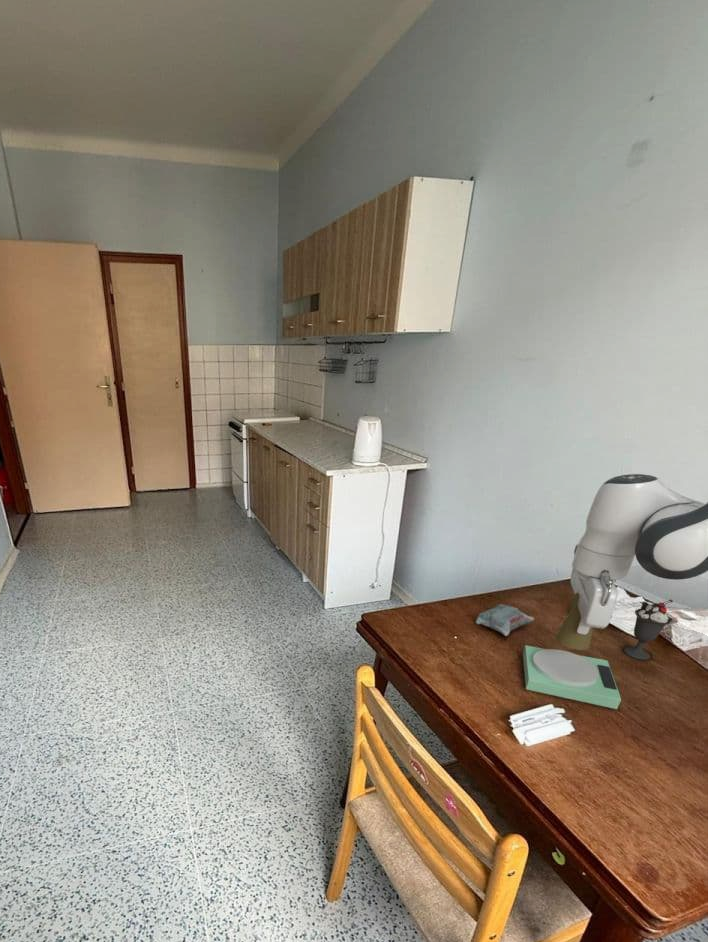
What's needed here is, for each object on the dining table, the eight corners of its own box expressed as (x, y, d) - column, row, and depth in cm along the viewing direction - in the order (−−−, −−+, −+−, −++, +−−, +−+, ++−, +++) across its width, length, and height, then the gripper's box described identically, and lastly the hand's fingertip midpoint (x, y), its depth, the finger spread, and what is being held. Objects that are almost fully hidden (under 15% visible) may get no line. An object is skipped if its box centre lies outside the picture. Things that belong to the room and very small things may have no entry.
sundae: (656, 665, 105) (683, 606, 98) (619, 656, 108) (643, 598, 101) (654, 651, 109) (679, 593, 102) (619, 642, 113) (641, 586, 106)
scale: (603, 669, 104) (609, 656, 102) (617, 709, 92) (623, 695, 91) (522, 654, 109) (526, 641, 108) (525, 689, 98) (529, 675, 97)
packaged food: (531, 627, 119) (536, 610, 117) (504, 642, 114) (508, 624, 112) (499, 614, 126) (503, 597, 124) (472, 627, 120) (476, 610, 118)
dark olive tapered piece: (597, 648, 95) (616, 600, 89) (570, 651, 94) (587, 603, 89) (574, 632, 100) (591, 586, 95) (549, 635, 99) (564, 589, 94)
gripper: (634, 587, 79) (607, 655, 85) (610, 545, 95) (589, 605, 102) (590, 581, 81) (567, 648, 88) (574, 541, 98) (556, 600, 104)
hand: (579, 624), depth 95 cm, fingers closed on dark olive tapered piece, 4 cm apart
